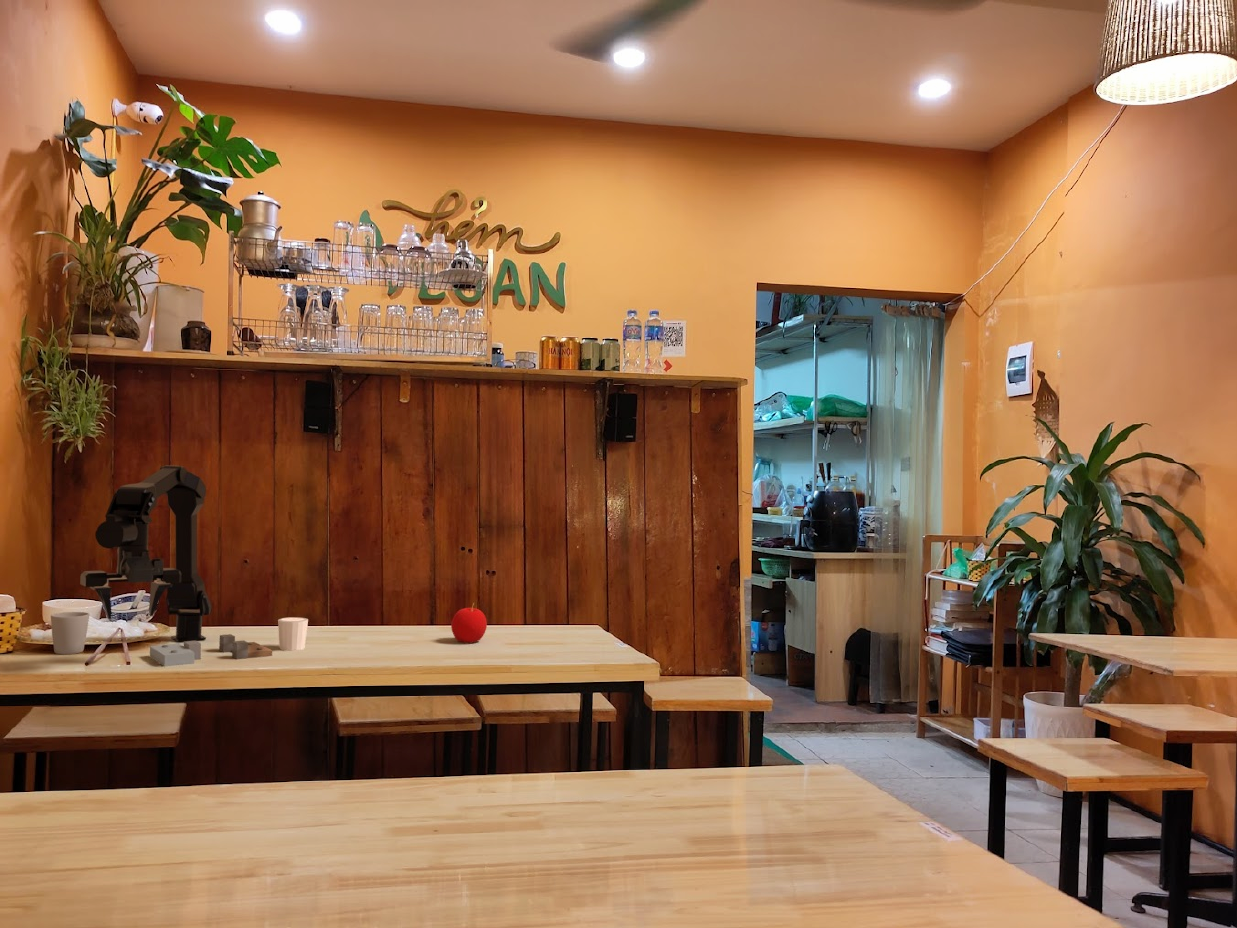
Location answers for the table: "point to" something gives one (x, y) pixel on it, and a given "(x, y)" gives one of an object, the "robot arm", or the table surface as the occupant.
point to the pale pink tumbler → (292, 633)
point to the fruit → (469, 625)
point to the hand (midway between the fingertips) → (130, 617)
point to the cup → (69, 631)
